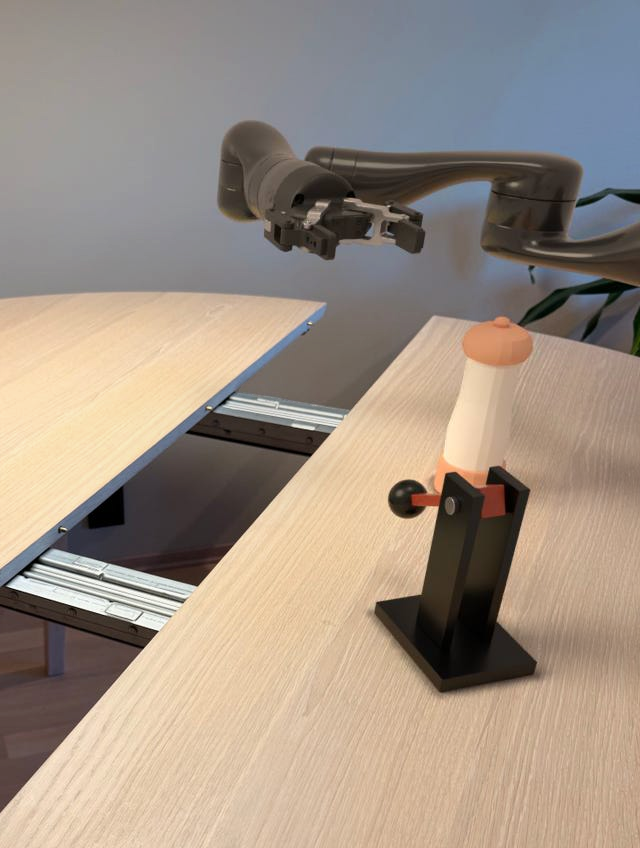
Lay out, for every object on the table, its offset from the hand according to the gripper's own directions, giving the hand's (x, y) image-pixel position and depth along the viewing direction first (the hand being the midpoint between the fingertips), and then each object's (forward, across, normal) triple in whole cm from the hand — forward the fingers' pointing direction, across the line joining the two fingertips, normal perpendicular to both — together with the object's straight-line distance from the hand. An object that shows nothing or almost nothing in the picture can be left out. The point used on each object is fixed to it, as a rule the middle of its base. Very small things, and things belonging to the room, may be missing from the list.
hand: (376, 245), depth 88 cm
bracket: (+23, 0, -28) cm, 36 cm away
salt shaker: (-3, -17, -28) cm, 33 cm away
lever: (+18, 0, -18) cm, 26 cm away
